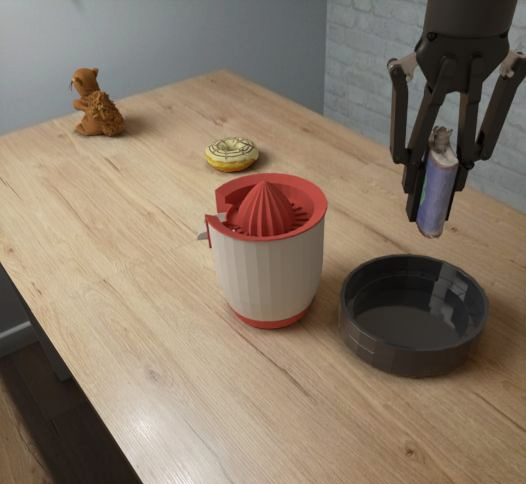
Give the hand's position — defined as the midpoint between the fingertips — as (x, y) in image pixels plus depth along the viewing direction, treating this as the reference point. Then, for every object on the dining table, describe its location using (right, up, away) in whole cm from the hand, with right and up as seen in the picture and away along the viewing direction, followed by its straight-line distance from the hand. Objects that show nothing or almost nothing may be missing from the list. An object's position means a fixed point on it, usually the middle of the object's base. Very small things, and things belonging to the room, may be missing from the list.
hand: (426, 214), depth 61 cm
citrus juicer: (-19, -9, +17) cm, 27 cm away
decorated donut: (-26, +23, +47) cm, 58 cm away
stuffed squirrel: (-56, +35, +60) cm, 90 cm away
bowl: (+1, -13, +12) cm, 17 cm away
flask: (0, 0, 0) cm, 0 cm away
